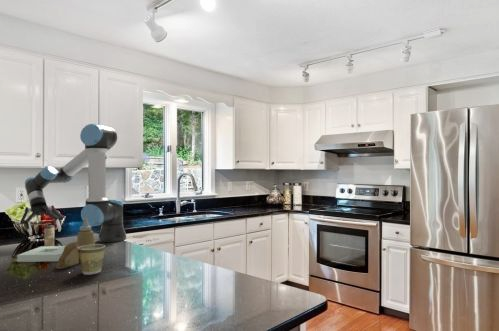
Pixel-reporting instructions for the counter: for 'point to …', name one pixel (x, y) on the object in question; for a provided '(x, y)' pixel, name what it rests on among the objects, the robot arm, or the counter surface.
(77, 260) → the rock
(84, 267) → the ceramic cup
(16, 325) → the counter surface
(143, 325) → the counter surface
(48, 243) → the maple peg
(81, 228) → the squeeze bottle
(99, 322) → the counter surface
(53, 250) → the socket board
